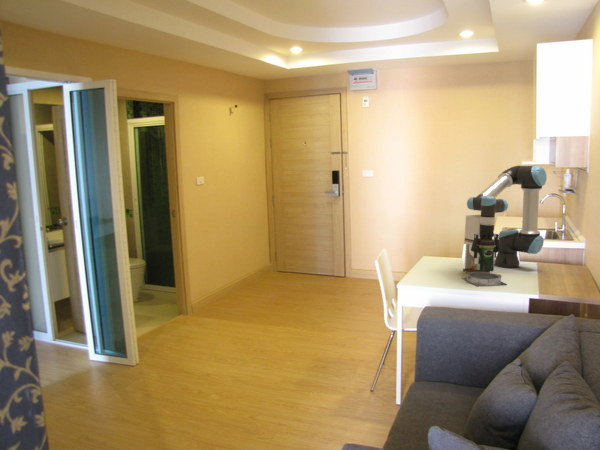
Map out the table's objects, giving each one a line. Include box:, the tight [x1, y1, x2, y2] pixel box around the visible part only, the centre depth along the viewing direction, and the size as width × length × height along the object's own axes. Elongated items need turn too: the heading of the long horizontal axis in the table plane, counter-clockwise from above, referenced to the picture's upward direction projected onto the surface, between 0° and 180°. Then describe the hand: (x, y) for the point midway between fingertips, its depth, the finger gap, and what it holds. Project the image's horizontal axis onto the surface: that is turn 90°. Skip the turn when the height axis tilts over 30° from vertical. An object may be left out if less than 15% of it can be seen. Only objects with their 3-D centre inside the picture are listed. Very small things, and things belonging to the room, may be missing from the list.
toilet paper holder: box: [462, 214, 491, 274], centre depth 303 cm, size 11×11×35 cm
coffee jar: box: [475, 238, 495, 273], centre depth 283 cm, size 10×8×19 cm
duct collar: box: [461, 272, 508, 287], centre depth 285 cm, size 21×18×4 cm
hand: (484, 263), depth 284 cm, fingers closed on coffee jar, 9 cm apart
